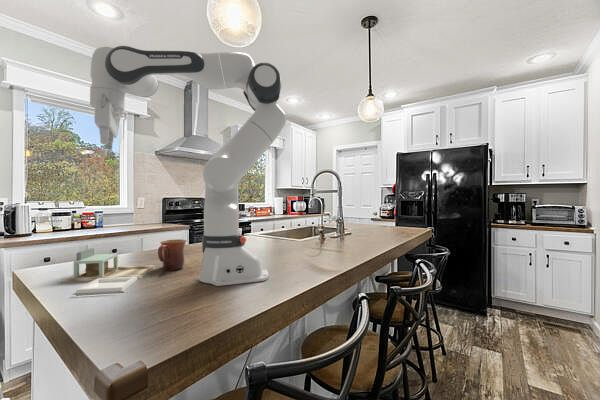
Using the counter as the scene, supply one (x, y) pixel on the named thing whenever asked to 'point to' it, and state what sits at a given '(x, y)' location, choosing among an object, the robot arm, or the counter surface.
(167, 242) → the mug
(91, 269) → the block
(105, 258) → the green stool
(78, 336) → the counter surface
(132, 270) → the board
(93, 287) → the dish
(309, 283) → the counter surface
